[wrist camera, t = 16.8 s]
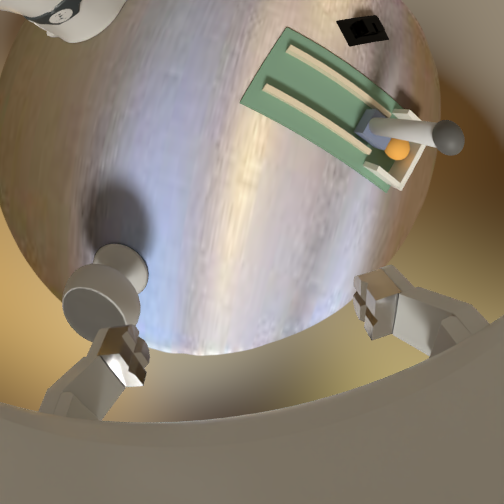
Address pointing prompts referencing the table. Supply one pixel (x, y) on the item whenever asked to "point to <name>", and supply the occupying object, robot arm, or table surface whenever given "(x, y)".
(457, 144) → the lever
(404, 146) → the ball
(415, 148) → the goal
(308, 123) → the pitch
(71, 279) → the chalice
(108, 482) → the robot arm
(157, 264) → the table surface
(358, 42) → the black boxy piece
